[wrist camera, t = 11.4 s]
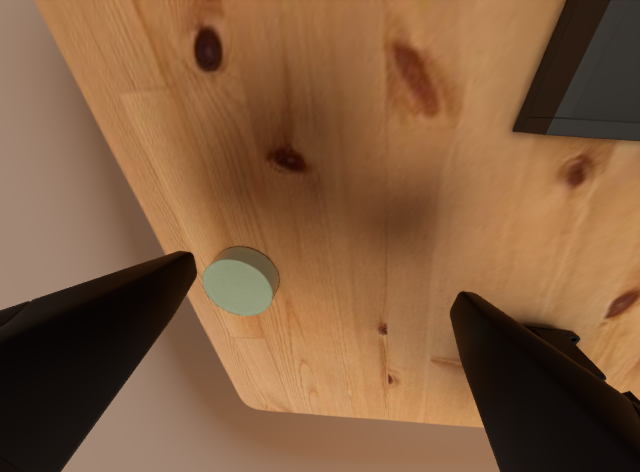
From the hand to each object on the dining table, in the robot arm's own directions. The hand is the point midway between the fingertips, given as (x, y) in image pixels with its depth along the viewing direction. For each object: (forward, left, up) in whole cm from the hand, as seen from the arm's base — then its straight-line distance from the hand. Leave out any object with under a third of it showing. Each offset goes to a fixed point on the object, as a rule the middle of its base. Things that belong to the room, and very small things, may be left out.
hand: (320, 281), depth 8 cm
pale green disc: (-10, +8, -11) cm, 17 cm away
